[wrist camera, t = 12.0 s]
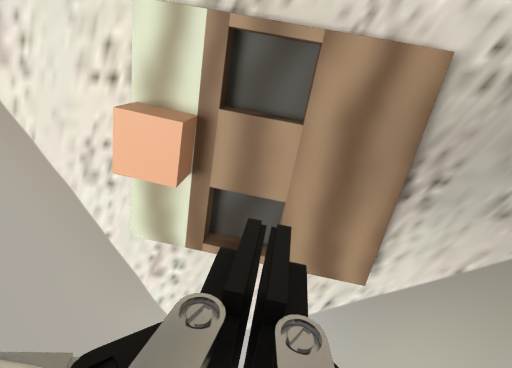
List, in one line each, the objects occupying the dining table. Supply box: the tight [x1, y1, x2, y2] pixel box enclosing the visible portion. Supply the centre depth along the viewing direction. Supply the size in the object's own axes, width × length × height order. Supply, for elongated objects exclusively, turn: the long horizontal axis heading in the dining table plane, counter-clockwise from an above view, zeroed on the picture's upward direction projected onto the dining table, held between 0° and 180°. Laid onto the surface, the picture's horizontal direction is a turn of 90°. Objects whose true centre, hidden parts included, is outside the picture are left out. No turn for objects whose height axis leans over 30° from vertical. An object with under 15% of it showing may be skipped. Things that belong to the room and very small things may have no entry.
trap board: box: [130, 0, 454, 286], centre depth 31 cm, size 27×24×3 cm
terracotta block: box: [113, 102, 197, 188], centre depth 28 cm, size 6×6×4 cm
